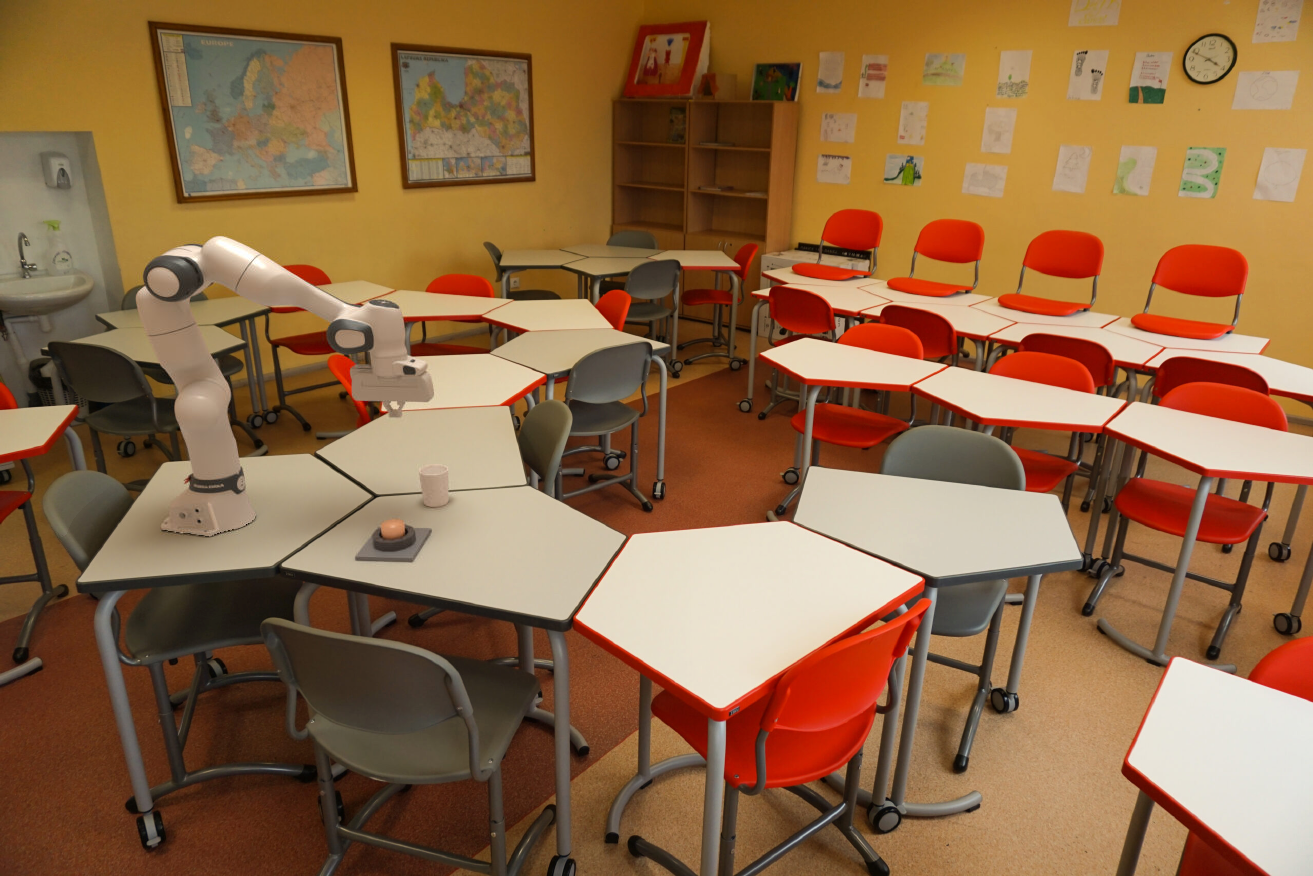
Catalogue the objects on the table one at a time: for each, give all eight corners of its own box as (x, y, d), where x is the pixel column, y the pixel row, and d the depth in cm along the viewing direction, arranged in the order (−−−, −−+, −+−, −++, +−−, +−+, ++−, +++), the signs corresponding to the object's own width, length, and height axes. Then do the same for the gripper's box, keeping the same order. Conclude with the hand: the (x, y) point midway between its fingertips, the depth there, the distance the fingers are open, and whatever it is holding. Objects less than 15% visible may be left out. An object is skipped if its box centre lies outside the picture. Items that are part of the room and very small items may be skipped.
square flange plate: (355, 560, 197) (353, 547, 196) (378, 530, 212) (377, 518, 211) (412, 561, 197) (411, 549, 196) (431, 531, 212) (430, 519, 210)
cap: (379, 546, 202) (377, 528, 200) (387, 536, 207) (385, 518, 205) (401, 547, 201) (399, 529, 200) (409, 537, 207) (407, 519, 205)
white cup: (434, 510, 224) (430, 477, 220) (416, 503, 228) (412, 470, 224) (456, 501, 229) (453, 468, 226) (438, 494, 234) (435, 462, 230)
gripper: (344, 367, 201) (350, 420, 206) (426, 369, 200) (430, 421, 205) (353, 360, 207) (360, 412, 212) (433, 362, 206) (437, 413, 211)
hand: (395, 416), depth 208 cm, fingers closed
